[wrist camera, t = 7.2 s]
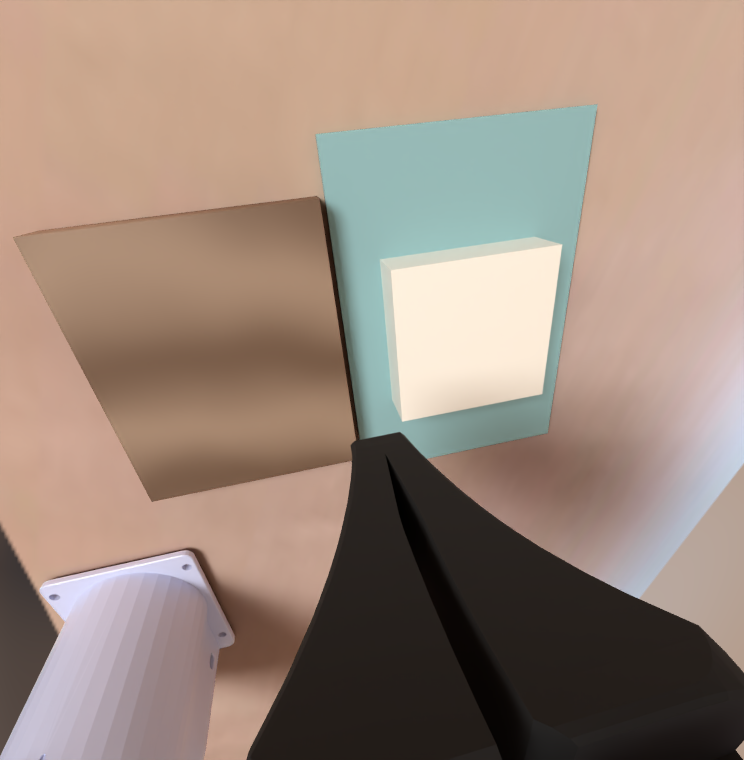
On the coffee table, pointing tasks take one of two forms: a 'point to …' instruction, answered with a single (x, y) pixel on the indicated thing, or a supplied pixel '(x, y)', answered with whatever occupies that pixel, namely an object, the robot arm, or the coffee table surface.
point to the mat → (449, 240)
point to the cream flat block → (469, 324)
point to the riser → (205, 339)
